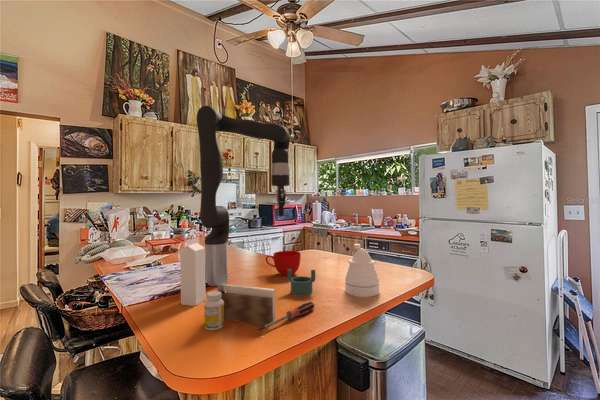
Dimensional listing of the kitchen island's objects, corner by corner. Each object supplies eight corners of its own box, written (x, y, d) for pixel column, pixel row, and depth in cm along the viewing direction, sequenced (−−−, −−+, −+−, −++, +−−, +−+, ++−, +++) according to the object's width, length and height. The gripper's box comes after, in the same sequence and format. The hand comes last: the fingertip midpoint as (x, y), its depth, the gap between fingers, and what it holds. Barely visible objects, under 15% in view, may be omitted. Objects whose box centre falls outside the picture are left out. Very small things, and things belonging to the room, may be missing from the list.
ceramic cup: (269, 270, 147) (269, 250, 147) (302, 271, 144) (302, 251, 144) (262, 277, 134) (262, 255, 134) (298, 278, 131) (298, 256, 131)
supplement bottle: (211, 332, 79) (211, 297, 79) (200, 327, 83) (200, 293, 83) (227, 326, 83) (227, 292, 83) (217, 321, 87) (216, 289, 87)
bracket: (317, 293, 111) (317, 270, 111) (296, 297, 106) (296, 273, 106) (305, 287, 119) (305, 265, 119) (285, 291, 114) (285, 268, 114)
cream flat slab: (215, 314, 91) (215, 285, 91) (221, 311, 94) (220, 282, 94) (272, 322, 85) (272, 291, 84) (276, 318, 87) (275, 288, 87)
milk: (180, 304, 101) (179, 241, 100) (191, 298, 107) (189, 238, 106) (196, 306, 99) (194, 241, 99) (206, 299, 105) (204, 239, 105)
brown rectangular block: (212, 317, 90) (212, 293, 89) (221, 312, 94) (220, 288, 94) (270, 325, 83) (269, 299, 83) (276, 319, 87) (276, 295, 87)
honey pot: (338, 291, 113) (338, 245, 112) (356, 284, 122) (356, 241, 122) (368, 299, 104) (368, 249, 104) (385, 290, 113) (384, 244, 113)
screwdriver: (259, 338, 76) (259, 327, 76) (252, 335, 78) (251, 324, 78) (316, 310, 95) (316, 300, 95) (309, 307, 97) (309, 298, 97)
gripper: (270, 175, 127) (270, 215, 127) (272, 173, 114) (273, 217, 114) (287, 175, 128) (287, 214, 129) (291, 173, 115) (292, 216, 116)
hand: (280, 215), depth 121 cm, fingers closed
